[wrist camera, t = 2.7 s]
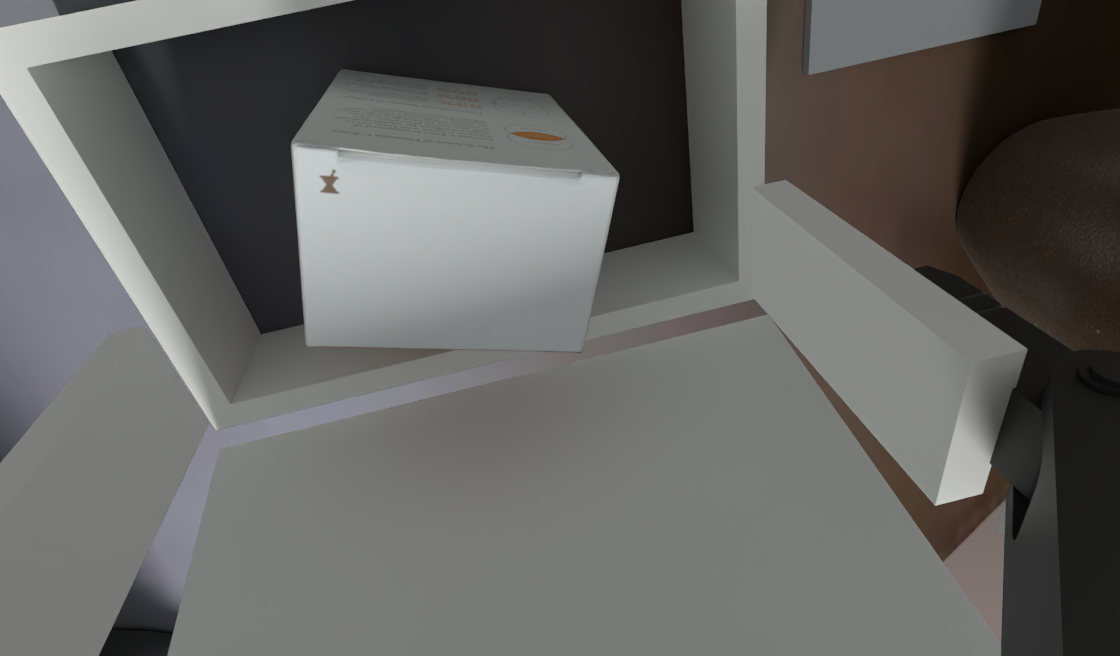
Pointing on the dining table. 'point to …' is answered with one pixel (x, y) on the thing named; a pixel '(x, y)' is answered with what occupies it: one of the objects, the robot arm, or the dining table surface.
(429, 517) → the lid
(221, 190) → the dining table surface
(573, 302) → the small box
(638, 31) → the dining table surface
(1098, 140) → the plant pot
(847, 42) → the gray mat
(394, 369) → the white open tray
